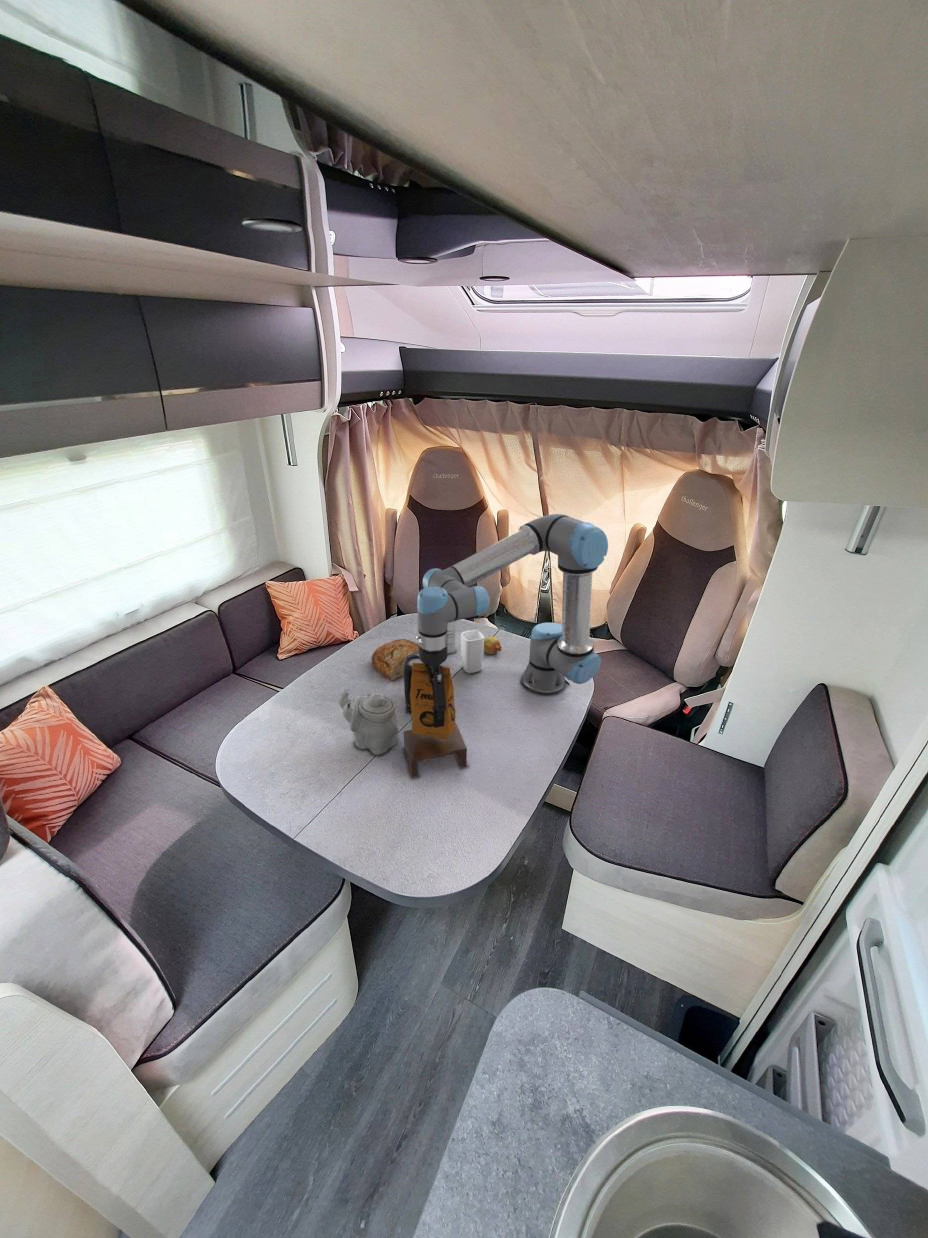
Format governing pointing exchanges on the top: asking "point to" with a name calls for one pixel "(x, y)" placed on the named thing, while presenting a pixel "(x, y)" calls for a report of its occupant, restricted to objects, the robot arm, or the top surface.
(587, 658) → the robot arm
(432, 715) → the coffee package
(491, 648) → the fruit
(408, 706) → the portable speaker
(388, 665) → the bread
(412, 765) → the small table
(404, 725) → the top surface
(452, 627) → the rectangular carton
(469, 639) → the cup
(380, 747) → the teapot
